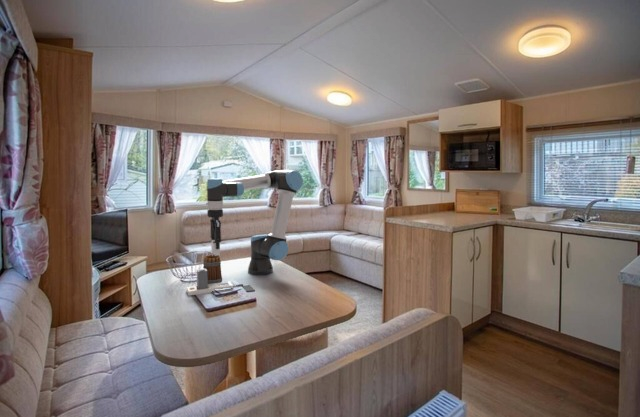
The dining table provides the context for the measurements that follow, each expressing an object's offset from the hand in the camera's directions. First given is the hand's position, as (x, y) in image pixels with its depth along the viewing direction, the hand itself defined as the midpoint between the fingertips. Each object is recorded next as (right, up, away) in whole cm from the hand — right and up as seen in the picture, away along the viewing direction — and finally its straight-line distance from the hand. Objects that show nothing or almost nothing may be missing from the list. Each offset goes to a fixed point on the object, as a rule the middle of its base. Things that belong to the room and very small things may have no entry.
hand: (215, 253), depth 181 cm
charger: (-7, -19, -1) cm, 20 cm away
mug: (-6, -18, +17) cm, 26 cm away
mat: (+13, -20, +5) cm, 24 cm away
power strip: (0, -20, +2) cm, 20 cm away
